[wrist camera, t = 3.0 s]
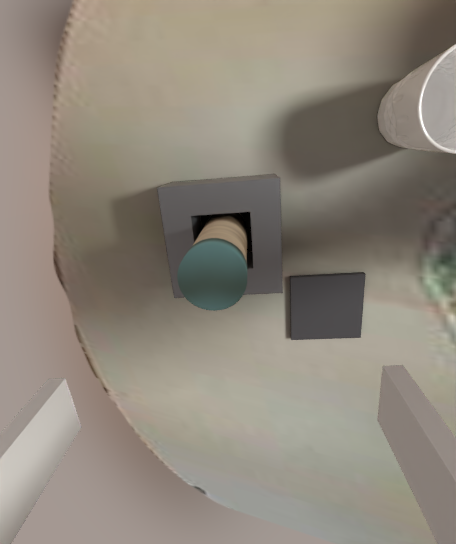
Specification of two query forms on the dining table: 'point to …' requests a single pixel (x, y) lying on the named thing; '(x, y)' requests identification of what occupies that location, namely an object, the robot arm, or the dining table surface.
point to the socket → (219, 200)
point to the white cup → (423, 107)
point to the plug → (216, 263)
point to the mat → (326, 306)
